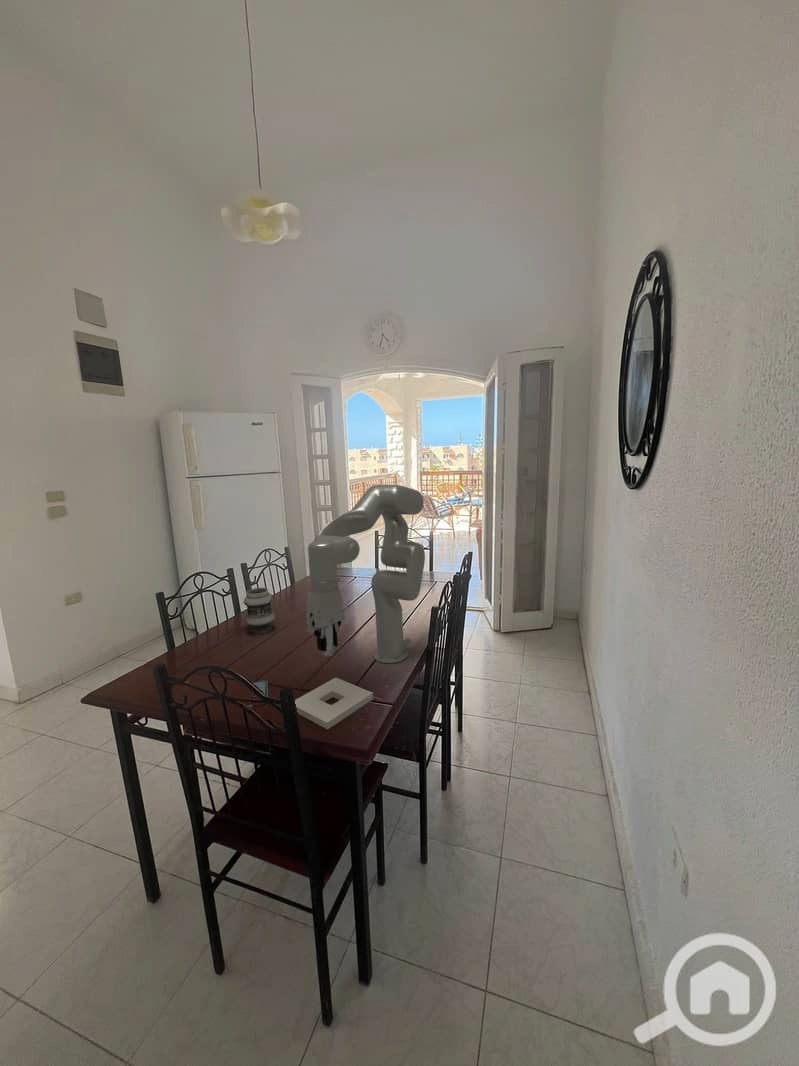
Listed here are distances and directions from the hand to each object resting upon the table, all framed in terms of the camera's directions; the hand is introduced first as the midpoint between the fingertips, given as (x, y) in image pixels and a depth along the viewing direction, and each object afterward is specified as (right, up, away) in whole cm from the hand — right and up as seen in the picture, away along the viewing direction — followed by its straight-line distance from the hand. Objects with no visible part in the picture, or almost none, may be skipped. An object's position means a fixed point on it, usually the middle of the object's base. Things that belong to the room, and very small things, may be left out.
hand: (327, 646), depth 122 cm
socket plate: (+1, -18, +3) cm, 18 cm away
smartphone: (-24, -18, +11) cm, 32 cm away
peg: (0, -2, 0) cm, 2 cm away
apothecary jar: (-38, -9, +61) cm, 73 cm away
